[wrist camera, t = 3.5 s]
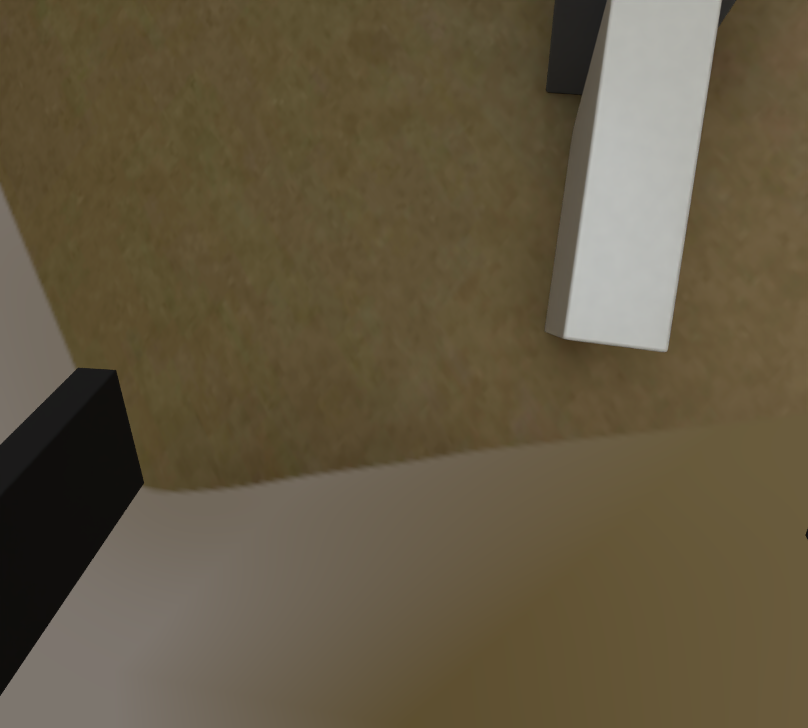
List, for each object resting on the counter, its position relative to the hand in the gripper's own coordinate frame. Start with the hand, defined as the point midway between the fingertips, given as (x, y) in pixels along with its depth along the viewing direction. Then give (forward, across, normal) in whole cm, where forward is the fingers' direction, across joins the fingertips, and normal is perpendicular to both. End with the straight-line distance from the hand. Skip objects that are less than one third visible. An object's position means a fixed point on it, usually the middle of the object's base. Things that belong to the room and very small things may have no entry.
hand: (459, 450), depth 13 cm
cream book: (+20, -4, +3) cm, 21 cm away
